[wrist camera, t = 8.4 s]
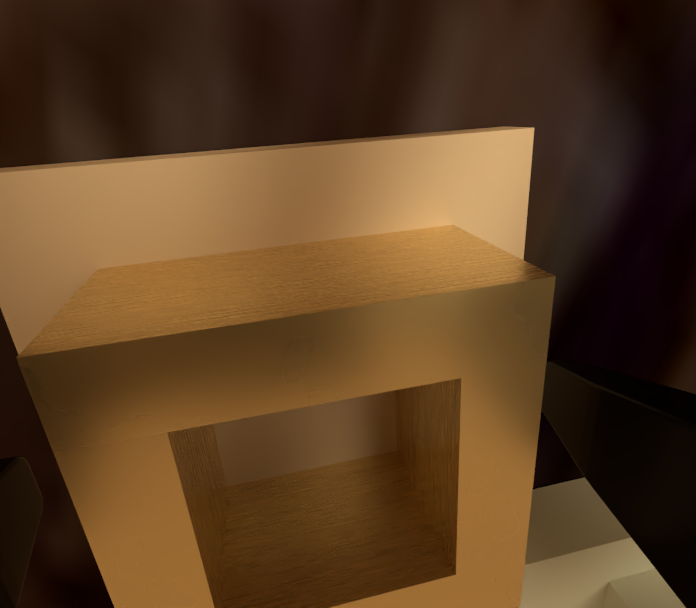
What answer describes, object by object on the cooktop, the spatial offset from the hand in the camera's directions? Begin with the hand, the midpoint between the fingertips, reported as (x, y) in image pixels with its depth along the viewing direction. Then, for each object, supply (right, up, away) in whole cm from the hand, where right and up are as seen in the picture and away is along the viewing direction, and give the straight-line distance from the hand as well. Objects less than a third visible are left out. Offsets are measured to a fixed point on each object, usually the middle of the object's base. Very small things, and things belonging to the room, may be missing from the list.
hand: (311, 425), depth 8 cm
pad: (0, +1, +2) cm, 2 cm away
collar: (0, 0, +1) cm, 1 cm away
